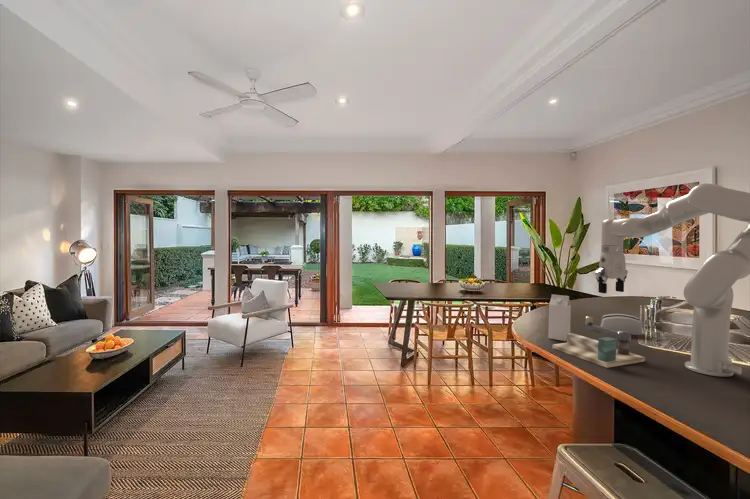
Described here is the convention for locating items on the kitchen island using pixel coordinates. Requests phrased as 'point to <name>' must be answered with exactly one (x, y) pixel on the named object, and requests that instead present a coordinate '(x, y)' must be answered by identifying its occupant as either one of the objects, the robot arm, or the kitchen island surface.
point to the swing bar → (607, 330)
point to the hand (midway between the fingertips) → (611, 292)
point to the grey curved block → (622, 323)
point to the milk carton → (559, 317)
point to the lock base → (595, 356)
